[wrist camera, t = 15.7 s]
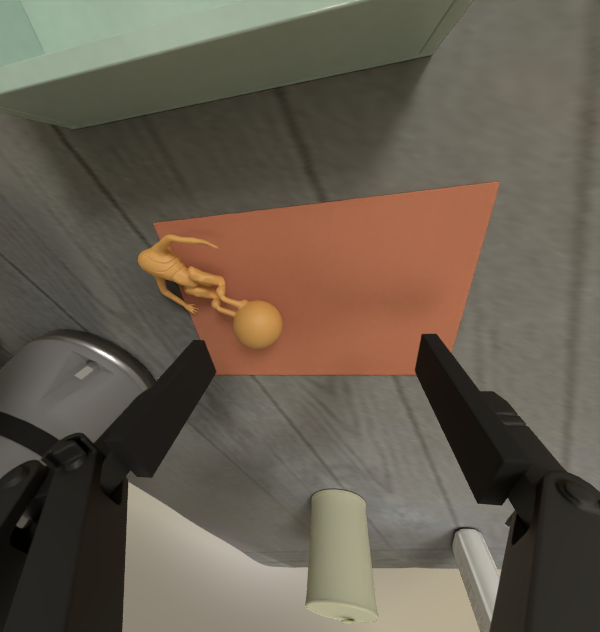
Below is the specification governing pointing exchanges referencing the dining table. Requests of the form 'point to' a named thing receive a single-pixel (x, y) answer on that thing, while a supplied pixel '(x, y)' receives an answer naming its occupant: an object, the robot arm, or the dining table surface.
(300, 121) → the dining table surface
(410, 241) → the mat
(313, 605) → the can
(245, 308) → the figurine
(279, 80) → the basin
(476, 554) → the white curved piece
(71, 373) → the robot arm
